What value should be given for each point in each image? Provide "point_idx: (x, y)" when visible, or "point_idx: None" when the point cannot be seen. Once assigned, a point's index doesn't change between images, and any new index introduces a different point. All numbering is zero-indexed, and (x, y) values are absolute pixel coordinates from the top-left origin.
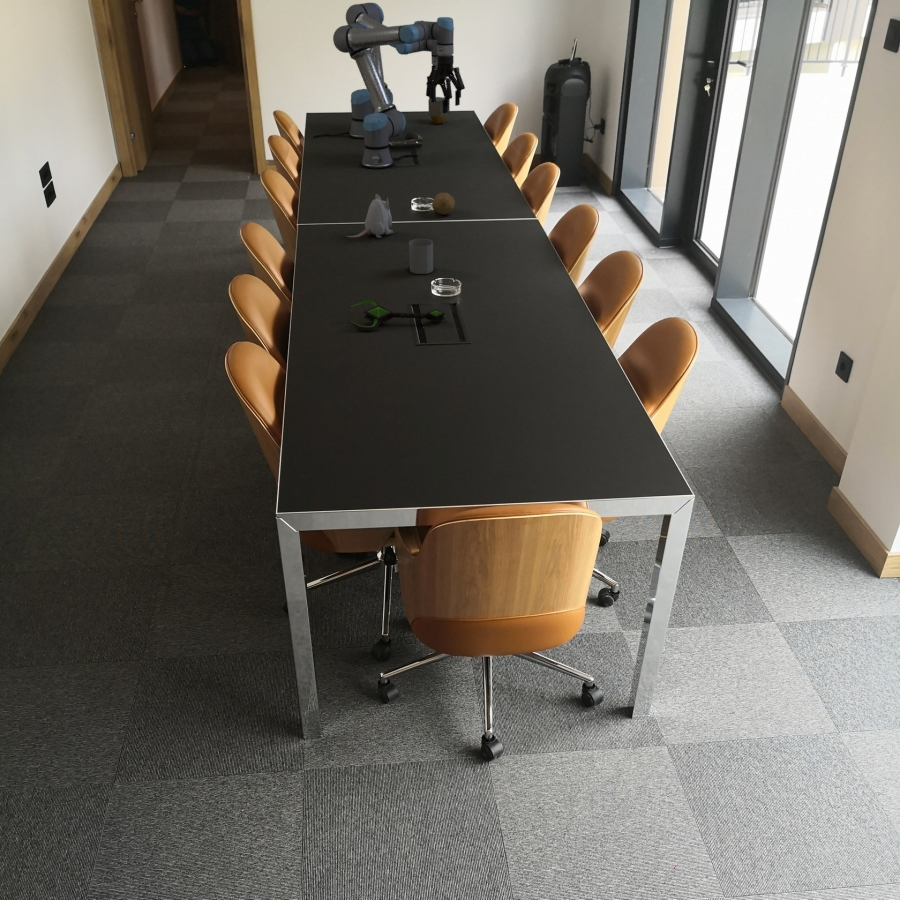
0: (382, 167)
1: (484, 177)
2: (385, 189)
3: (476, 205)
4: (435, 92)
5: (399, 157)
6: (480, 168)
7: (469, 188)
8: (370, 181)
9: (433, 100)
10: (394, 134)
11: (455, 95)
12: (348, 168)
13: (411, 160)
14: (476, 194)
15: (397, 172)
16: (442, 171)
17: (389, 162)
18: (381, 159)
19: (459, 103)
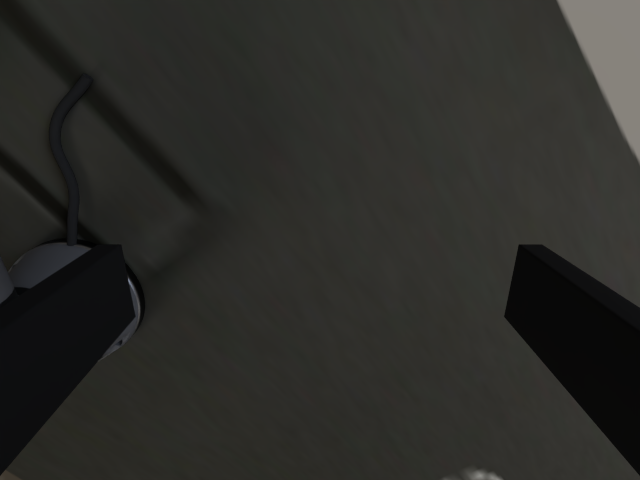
0: (138, 327)
1: (551, 209)
2: (317, 474)
3: None
4: (28, 323)
5: (70, 177)
6: (479, 91)
7: None
8: (223, 443)
9: (121, 313)
10: (4, 270)
11: (599, 420)
12: None
13: (127, 157)
14: None
15: (218, 330)
16: (353, 230)
17: (134, 304)
18: (116, 342)
19: (551, 256)
